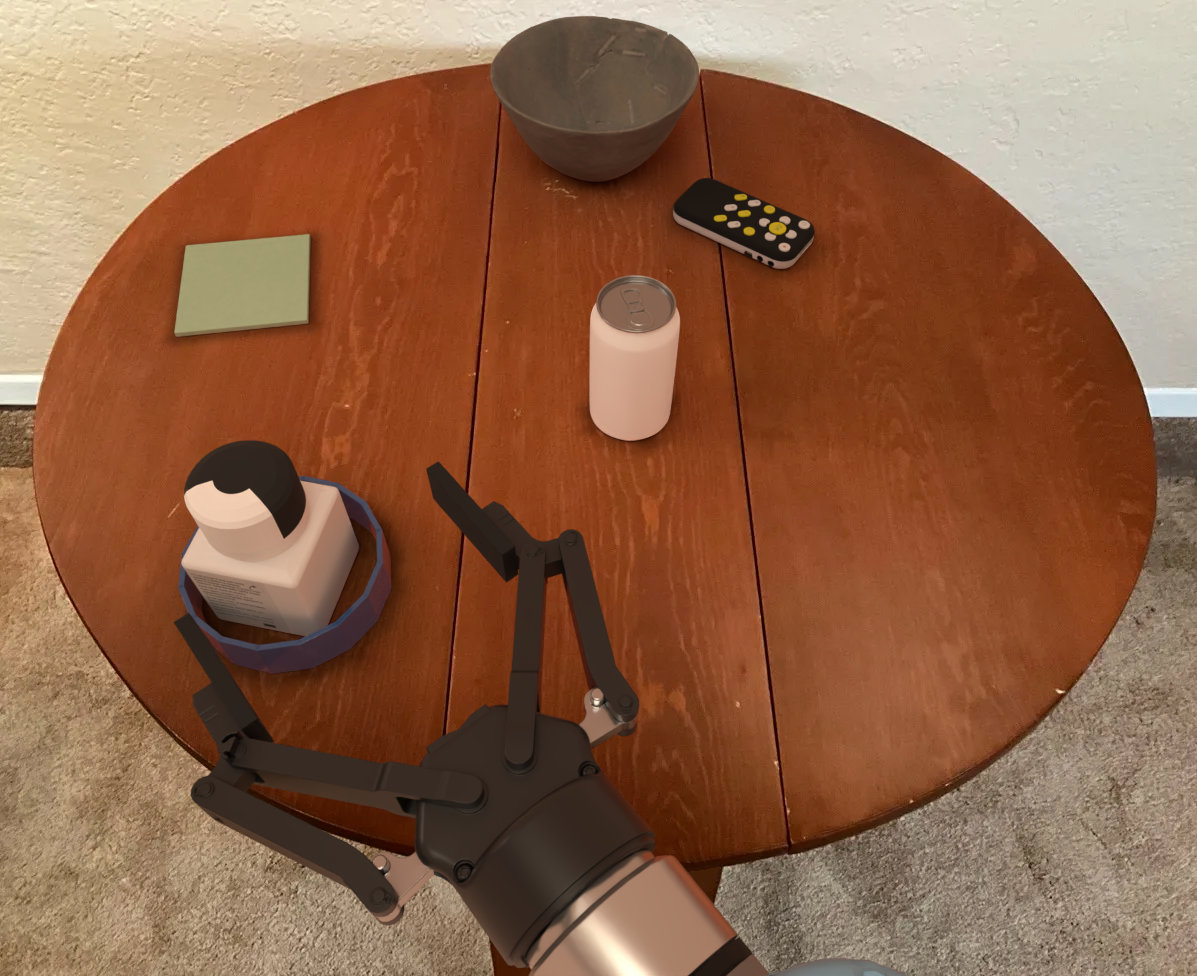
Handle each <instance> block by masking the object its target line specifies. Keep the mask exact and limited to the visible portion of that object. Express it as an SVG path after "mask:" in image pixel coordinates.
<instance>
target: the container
mask: <svg viewBox="0 0 1197 976" xmlns="http://www.w3.org/2000/svg"><path fill="white" fill-rule="evenodd" d="M298 476H299V474H298V472H297V469H296V468H295V465H294V463H293V461H292V459H291V458H290V456H289V455H288V454H287V453H286V451H284V450H283V449H282V448H280V447H279V446H277V445H275V444H272V443H270V442H267V441H262V440H255V439H253V440H251V439H249V440H248V439H247V440H238V441H232V442H229V443H225V444H223V445H221V446H218V447H216V448H215V449H212V450H211V451H209V452H208V453H207V454H205V455H203V457H202V458H201V459H199V461H198V462H197V463H196V464H194V467H193V468H192V469H191V471H190V472H189V474H188V476H187V479H186V481H185V483H184V489H183V497H184V503H185V506H186V509H187V510H188V512H189V513H190V515H191V517H192V518H193V520H194V522H195V523H196V524H197V526H199V529H198V531H197V533H196V534H195V536H194V538H193V540H192V542H191V544H190V546H189V548H188V550H187V551H186V553H185V555H184V557H183V559H182V562H181V561H180V564H181V563H182V566H183V568H184V569H185V571H186V572H187V574H188V575H189V576H190V578H191V579H192V581H193V582H194V584H195V585H196V587H197V588H198V590H199V591H200V593H201V594H202V596H203V599H204V600H205V602H206V603H207V605H208V606H209V607H210V609H211V611H212V612H213V614H214V615H215V616H216V618H217V619H219V620H221V621H225V622H230V623H235V624H240V625H246V626H251V627H256V628H261V629H265V630H271V631H276V632H281V633H286V634H290V635H294V636H295V635H296V636H301V637H305V636H307V635H309V634H311V633H313V632H315V631H318V630H320V629H322V628H324V627H326V626H328V625H330V624H329V623H330V621H331V619H332V617H333V614H334V612H335V609H336V607H337V605H338V602H339V600H340V598H341V594H342V593H343V590H344V587H345V585H346V582H347V580H348V578H349V575H350V572H351V570H352V568H353V565H354V563H355V560H356V558H357V556H358V554H359V551H360V544H359V541H358V539H357V536H356V533H355V530H354V528H353V525H352V522H351V520H350V517H349V516H348V514H347V512H346V509H345V506H344V503H343V501H342V498H341V495H340V493H339V490H338V489H337V488H336V487H333V486H327V485H322V484H316V483H311V482H305V481H300V479H299V477H298Z"/></svg>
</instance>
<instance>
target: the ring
mask: <svg viewBox="0 0 1197 976" xmlns="http://www.w3.org/2000/svg"><path fill="white" fill-rule="evenodd" d="M298 477H299V479H300V481H305V482H311V483H316V484H322V485H327V486H333V487H336V488H337V489H338V490H339V493H340V495H341V498H342V501H343V503H344V506H345V509H346V512H347V514H348V517H349V519H351V520H353V521H354V522H356V523H357V524H359V525H360V526H362V527H363V528H364V529H366V530H367V531H369V532H370V533H371V535H372V536H373V539H374V540H375V543H376V564H375V565H374V568H373V571H372V572H371V574H370V577H369V580H368V581H367V584H366V586H365V588H364V591H363V593H362V595H360V596H359V597H358V598H357V599H356V601H354V602H353V603H352V605H350V606H349V607H348V608H347V610H346V611H344V613H342V614H341V616H339V617H338V618H337V619H336V621H334V622H332V623H330V624H328V626H326V627H324V628H322V629H320V630H318V631H315V632H313V633H311V634H309V635H307V636H302V637H301V638H299V639H293V640H286V641H279V642H278V641H277V642H271V643H264V644H256V643H252V642H247V641H244V640H240V639H236V638H231V637H228V636H223V635H222V634H220V633H219V632H218V631H217V630H216V629H214V628H213V627H211V626H210V625H209V624H208V623H207V620H206V618H205V616H204V613H203V602H204V601H203V600H204V597H203V596H202V594H201V593H200V591H199V590H198V588H197V587H196V585H195V584H194V582H193V581H192V579H191V578H190V576H189V575H188V574H187V572H186V571H185V569H184V568H183V566H182V563H181V562H182V559H183V557H184V555H185V553H186V551H187V550H188V548H189V546H190V544H191V542H192V540H193V538H194V536H195V534H196V533H197V531H198V529H199V526H198V525H197V526H196V528H195V530H194V531H193V533H192V535H191V536H190V538H189V540H188V541H187V544H186V545H185V547H184V549H183V550H182V552H181V557H180V565H179V575H178V584H177V589H178V591H179V594H180V597H181V599H182V602H183V604H184V606H185V609H186V611H187V614H188V613H190V615H191V616H192V617H193V619H194V620H195V622H196V623H197V624H198V626H199V627H200V628H201V630H202V631H203V632H204V634H205V635H206V637H207V638H208V639H209V641H210V642H211V644H212V645H213V647H214V649H215V650H216V652H219V653H220V654H221V655H222V656H223V657H225V658H226V659H227V660H228V661H230V663H232V664H233V665H235V666H239V667H242V668H247V669H251V670H255V671H259V672H264V673H268V674H272V675H273V674H280V673H287V672H295V671H303V670H310V669H314V668H316V667H318V666H320V665H322V664H324V663H327V662H328V661H331V660H332V659H334V658H336V657H338V656H340V655H342V654H344V653H347V652H348V651H350V650H351V649H352V648H353V647H354V646H355V645H356V644H357V643H358V642H359V641H360V640H361V639H362V638H363V637H364V636H365V635H366V634H367V633H368V632H369V631H370V630H371V628H373V626H374V625H375V624H377V622H378V621H379V619H380V617H381V614H382V612H383V610H384V607H385V605H386V602H387V600H388V597H389V595H390V593H391V591H392V588H393V587H392V561H391V560H392V559H391V553H390V550H389V547H388V543H387V540H386V537H385V534H384V531H383V528H382V527H381V525H380V523H379V521H378V520H377V518H376V516H375V514H374V513H373V511H372V509H371V507H370V505H369V504H368V501H366V500H365V499H363V498H362V497H361V496H359V495H357V494H356V493H354V492H353V491H352V490H350V489H349V488H347V487H345V485H343V484H341V483H340V482H335V481H331V480H327V479H322V478H317V477H312V476H307V475H298Z"/></svg>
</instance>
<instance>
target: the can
mask: <svg viewBox="0 0 1197 976" xmlns="http://www.w3.org/2000/svg"><path fill="white" fill-rule="evenodd" d="M680 316H681V315H680V312H679V309H678V307H677V300H676V297H675V294H674V293H673V291H672V290H671V288H669V287H668V286H667V285H666V284H665V283H663V282H662V281H661V280H659V279H656V278H653V277H650V276H647V275H640V274H629V275H624V276H623V275H622V276H620V277H617V278H614V279H612V280H610V281H609V282H607V283H606V284H604V285H603V286H602V288H600V290H599V292H598V294H597V296H596V300H595V303H594V305H593V307H592V309H591V313H590V321H589V413H590V417H591V420H592V422H593V423H594V425H595V426H596V428H598V429H599V430H600V431H601V432H603V434H606V435H607V436H609V437H611V438H615V439H618V440H621V441H629V442H632V441H640V440H644V439H647V438H649V437H652V436H654V435H656V434H657V433H659V432H660V431H661V430H662V429H663V428H664V427H665V426H666V425H667V423H668V422H669V419H670V416H671V409H672V401H673V393H674V385H675V377H676V368H677V359H678V350H679V341H680V330H681V317H680Z"/></svg>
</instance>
